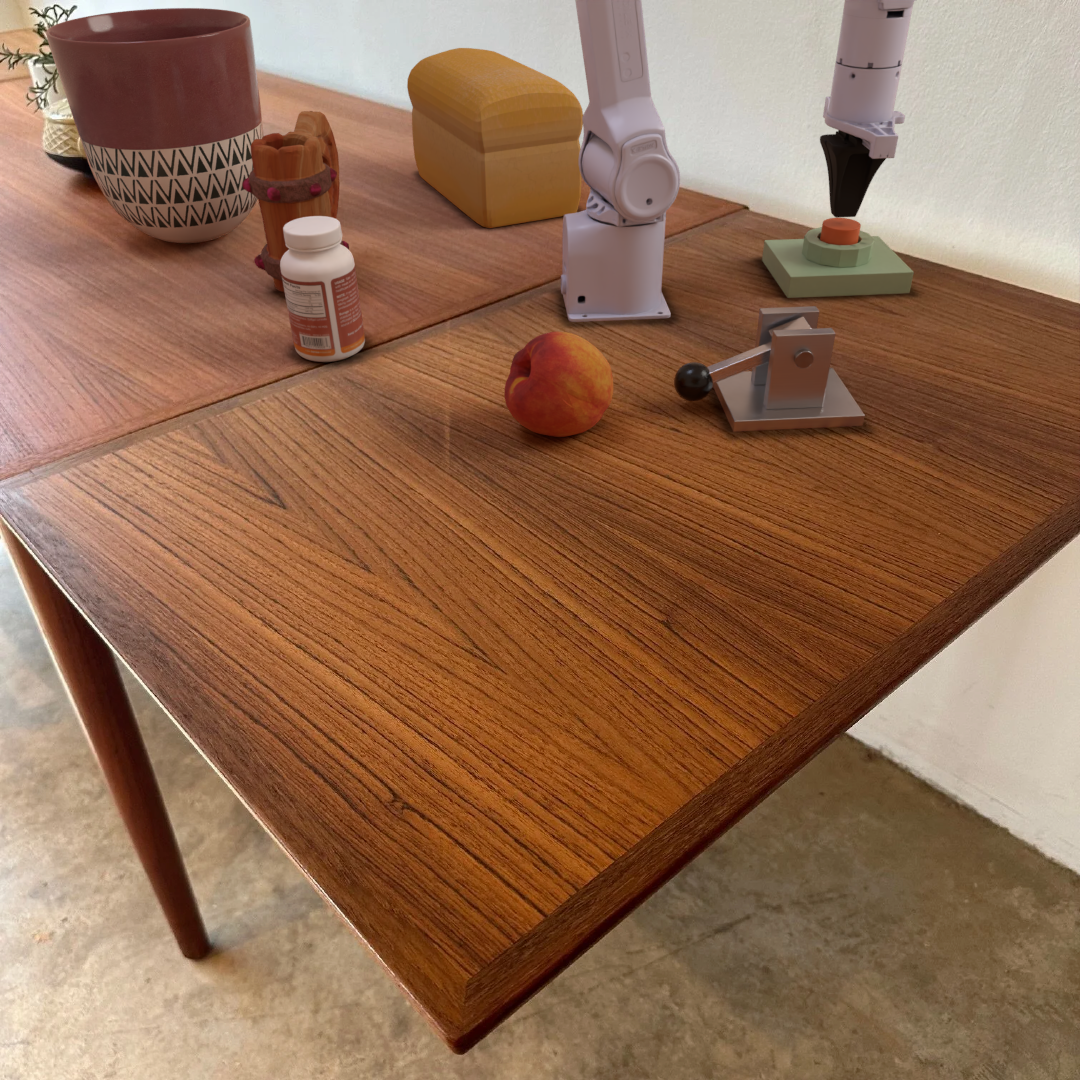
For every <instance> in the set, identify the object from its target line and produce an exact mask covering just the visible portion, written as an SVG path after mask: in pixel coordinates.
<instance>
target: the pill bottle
mask: <svg viewBox="0 0 1080 1080" xmlns="http://www.w3.org/2000/svg"><path fill="white" fill-rule="evenodd" d="M283 232H284V239H285V243H286V247H287V248H289V250H288V251H286V252H285V253H284V255H283V256H282V258H281V261H280V268H281V275H282V280H283V286H284V291H285V293H284V296H285V302H286V308H287V312H288V313H287V314H288V319H289V325H290V330H291V335H292V341H293V346H294V349H295V352H296V353H297V354H298V355H299V356H300V357H301V358H303V359H304V360H308V361H312V362H319V363H331V362H332V363H333V362H337V361H342V360H345V359H348V358H350V357H352V356H355V355H356V354H358V353H359V352H360V351H361V350H362V349H363V348H364V346H365V342H366V336H365V327H364V321H363V313H362V307H361V306H362V305H361V300H360V291H359V285H358V278H357V271H356V264H355V259H354V258H355V257H354V256H353V253H352V252H351V250H350V249H349V250H348V249H347V248H346V247H345V246H343V245H341V244H340V243H341V241H343V231H342V225H341V222H340V220H338V219H335V218H332V217H326V216H310V217H303V218H298V219H295V220H292V221H290V222H288V223H287V224H285V225H284V227H283Z"/></svg>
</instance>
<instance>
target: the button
mask: <svg viewBox="0 0 1080 1080" xmlns="http://www.w3.org/2000/svg"><path fill="white" fill-rule="evenodd" d="M861 226H862V225H861V223H860V222H859V221H857V220H855V219H852V218H848V217H831V218H826V219H824V220H823V221H822V225H821V227H822V230H821V237H820V241H823V242H825V243H828V244H834V245H853V244H856V243H858V238H859V233H860V231H861Z"/></svg>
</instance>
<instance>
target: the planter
mask: <svg viewBox="0 0 1080 1080" xmlns="http://www.w3.org/2000/svg"><path fill="white" fill-rule="evenodd" d="M45 34H46V39H47V42H48V45H49V48H50V52H51V55H52V58H53V62H54V65H55V67H56V71H57V73H58V76H59V79H60V82H61V85H62V88H63V91H64V95H65V97H66V100H67V103H68V106H69V109H70V112H71V113H70V114H71V115H72V119H73V122H74V125H75V128H76V131H77V134H78V137H79V139H80V142H81V145H82V148H83V151H84V154H85V157H86V161H87V163H88V165H89V168H90V170H91V173H92V175H93V179H95V182H96V183H97V185H98V188H99V189H100V191H101V193H102V194H103V196H104V197H105V199H106V201H107V202H108V203H109V205H110V207H112V209H113V210H114V211H115V212H116V213H117V214H118V215H119V216H120V217H121V218H122V219H123V220H125V222H127V223H128V224H130V225H131V226H132V227H133V228H136V229H137V230H139V231H140V232H142V233H144V234H146V235H148V236H150V237H151V238H154V239H157V240H159V241H164V242H167V243H175V244H197V243H204V242H209V241H213V240H215V239H219V238H221V237H223V236H225V235H227V234H229V233H231V232H232V231H234V230H235V229H237V228H238V227H239V226H240V225H241V224H242V223H243V222H244V221H245V220H246V219H247V217H248V216H249V215H250V214H251V212H252V210H253V209H254V208H255V206H256V204H257V203H258V198H256V197H255V196H254V195H253V194H252V193H250V192H247V191H246V190H245V189H243V186H242V184H243V181H244V180H245V179H247V178H249V175H250V173H251V171H252V170H253V169H254V168H253V162H252V156H251V145H252V142H253V141H254V140H255V139H262V138H263V137H264V136H265V135H264V127H263V118H262V107H261V98H260V91H259V82H258V75H257V66H256V65H257V64H256V56H255V55H256V53H255V45H254V37H253V31H252V24H251V19H250V17H249V16H248V15H246V14H244V13H242V12H238V11H233V10H227V9H219V8H205V7H203V8H202V7H200V8H199V7H170V8H169V7H167V8H149V9H147V8H146V9H135V10H122V11H115V12H107V13H106V12H105V13H100V14H94V15H89V16H82V17H77V18H74V19H68V20H65V21H61V22H59V23H57V24H54V25H52V26H50V27H49V28H48V29H46V31H45Z"/></svg>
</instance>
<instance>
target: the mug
mask: <svg viewBox="0 0 1080 1080" xmlns="http://www.w3.org/2000/svg"><path fill="white" fill-rule="evenodd" d="M251 156H252V162H253V168H254V169H253V170H252V171H251V173H250V175H249V178H247V179H245V180H244V181H243V184H242V186H243V189H245V190H246V191H247V192H250V193H252V194H253V195H254V196H255V197H256V198H258V200H257V202H258V205H259V210H260V215H261V218H262V224H263V230H264V235H265V240H266V243H265V245H264V246H263V248H262V249H261V252H260V254H258V255H257V256H254V260H253V263H254V265H255V267H257V268H258V269H260V270H262V271H265V273H266V274H267V275H268V276H270V277H271V278H272V279H273V280H272V281H273V284H274V288H275V289H276V290H278V291H279V292H281V293H284V294H285V291H284V286H283V280H282V275H281V268H280V261H281V258H282V256H283V255H284V253H285V252H286V251H288V250H289V248H287V247H286V243H285V239H284V232H283V227H284V225H285V224H287V223H288V222H290V221H292V220H295V219H298V218H303V217H310V216H326V217H332V218H335V219H337V218H338V210H339V203H340V202H339V201H340V185H341V183H340V163H339V162H340V160H339V151H338V147H337V143H336V140H335V135H334V132H333V130H332V127H331V125H330V123H329V120H328V119H327V116H326V114H324V113H323V112H321V111H313V110H309V111H308V110H302V111H300V112H299V114H298V115H297V119H296V122H295V126H294V130H293V131H289V132H288V133H286V134H284V135H283V134H281V133H279V132H273V133H269V134H265V135H264V137H263V138H262V139H255V140H254V141H253V142H252V145H251ZM337 220H338V219H337ZM340 244H341V245H343V246H345V247H346V248H347V249H348V250H349V251H350V245H349V243H348V242H347V241H346V240H342V241H341V243H340Z"/></svg>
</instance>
